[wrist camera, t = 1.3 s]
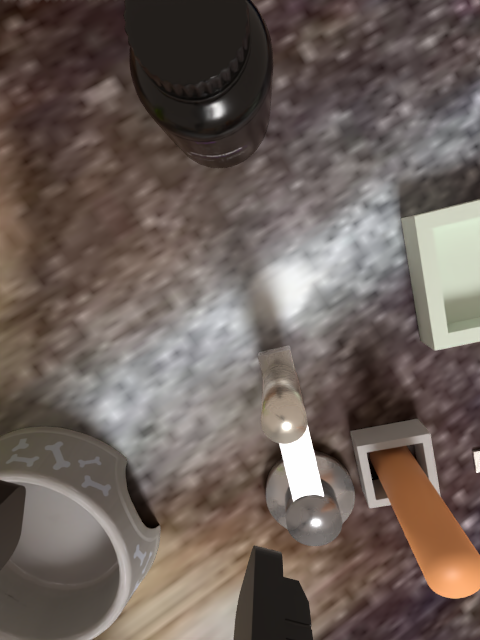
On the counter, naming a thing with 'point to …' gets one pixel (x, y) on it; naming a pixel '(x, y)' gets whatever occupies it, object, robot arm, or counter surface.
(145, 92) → the supplement bottle
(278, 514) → the crank flange
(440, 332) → the tray
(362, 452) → the collar
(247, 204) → the counter surface
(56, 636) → the dog bowl
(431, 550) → the pin
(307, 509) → the crank
